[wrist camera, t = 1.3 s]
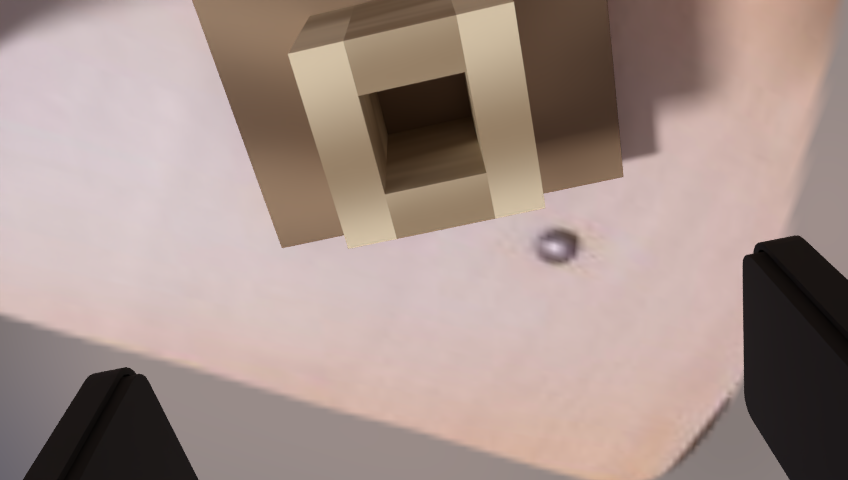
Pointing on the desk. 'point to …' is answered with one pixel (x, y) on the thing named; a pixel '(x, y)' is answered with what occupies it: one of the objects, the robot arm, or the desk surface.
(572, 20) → the brown rectangular board
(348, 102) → the wooden square holder
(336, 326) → the desk surface
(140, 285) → the desk surface
